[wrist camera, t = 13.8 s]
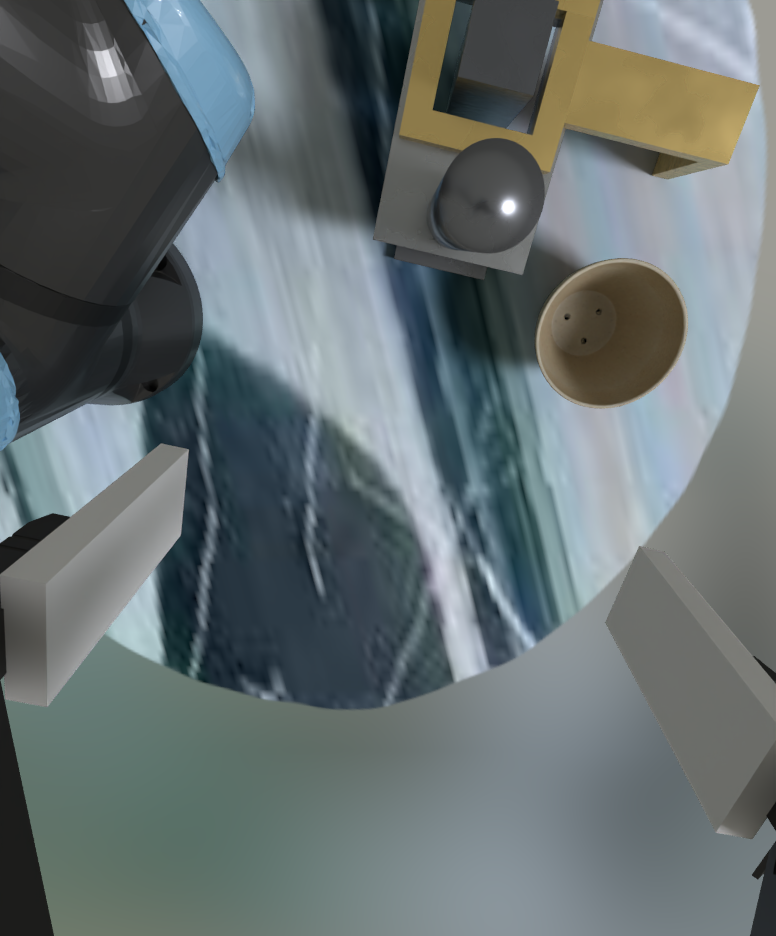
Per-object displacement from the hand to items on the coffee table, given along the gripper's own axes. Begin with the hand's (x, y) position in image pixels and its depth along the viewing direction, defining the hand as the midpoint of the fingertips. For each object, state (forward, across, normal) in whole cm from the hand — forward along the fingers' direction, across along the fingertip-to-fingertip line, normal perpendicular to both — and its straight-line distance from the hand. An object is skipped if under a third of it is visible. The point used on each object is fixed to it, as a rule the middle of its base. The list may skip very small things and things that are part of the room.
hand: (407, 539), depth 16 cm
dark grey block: (+32, +1, +18) cm, 36 cm away
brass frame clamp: (+32, +6, +15) cm, 35 cm away
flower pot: (+32, +13, +5) cm, 35 cm away
